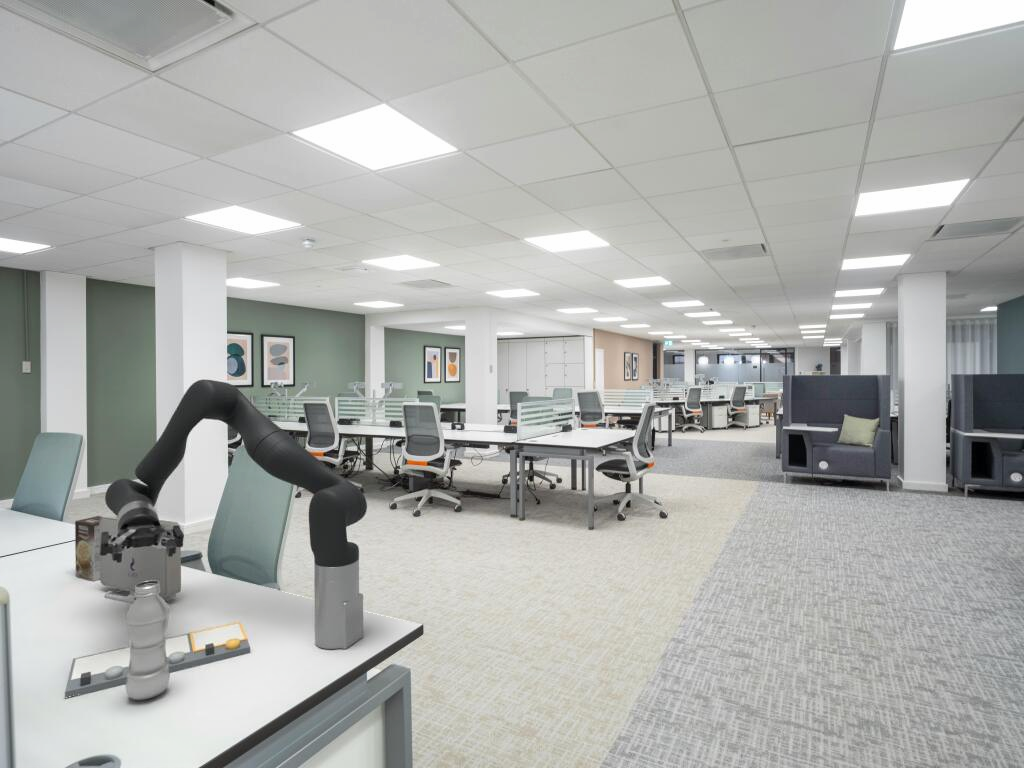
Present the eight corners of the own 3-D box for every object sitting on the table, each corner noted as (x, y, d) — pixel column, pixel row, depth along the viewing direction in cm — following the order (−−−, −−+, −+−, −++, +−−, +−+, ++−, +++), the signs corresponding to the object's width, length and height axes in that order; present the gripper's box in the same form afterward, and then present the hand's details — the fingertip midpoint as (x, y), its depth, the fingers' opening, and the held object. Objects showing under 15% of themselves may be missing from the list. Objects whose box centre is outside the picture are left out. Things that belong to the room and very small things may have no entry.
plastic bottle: (138, 686, 103) (137, 578, 103) (177, 684, 104) (176, 576, 104) (117, 706, 97) (115, 591, 97) (158, 704, 98) (157, 590, 97)
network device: (91, 594, 147) (90, 518, 146) (124, 583, 155) (124, 511, 154) (158, 610, 137) (157, 528, 137) (191, 597, 145) (190, 519, 145)
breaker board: (240, 627, 128) (240, 615, 128) (250, 652, 116) (250, 640, 116) (73, 664, 111) (72, 651, 111) (65, 698, 99) (64, 684, 99)
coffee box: (74, 576, 160) (73, 520, 159) (98, 569, 166) (98, 515, 165) (93, 581, 156) (92, 524, 156) (117, 574, 162) (117, 518, 161)
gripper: (99, 509, 118) (102, 541, 106) (177, 504, 127) (189, 533, 115) (96, 543, 119) (99, 578, 106) (174, 535, 128) (185, 567, 115)
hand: (146, 555), depth 111 cm, fingers open, 8 cm apart
